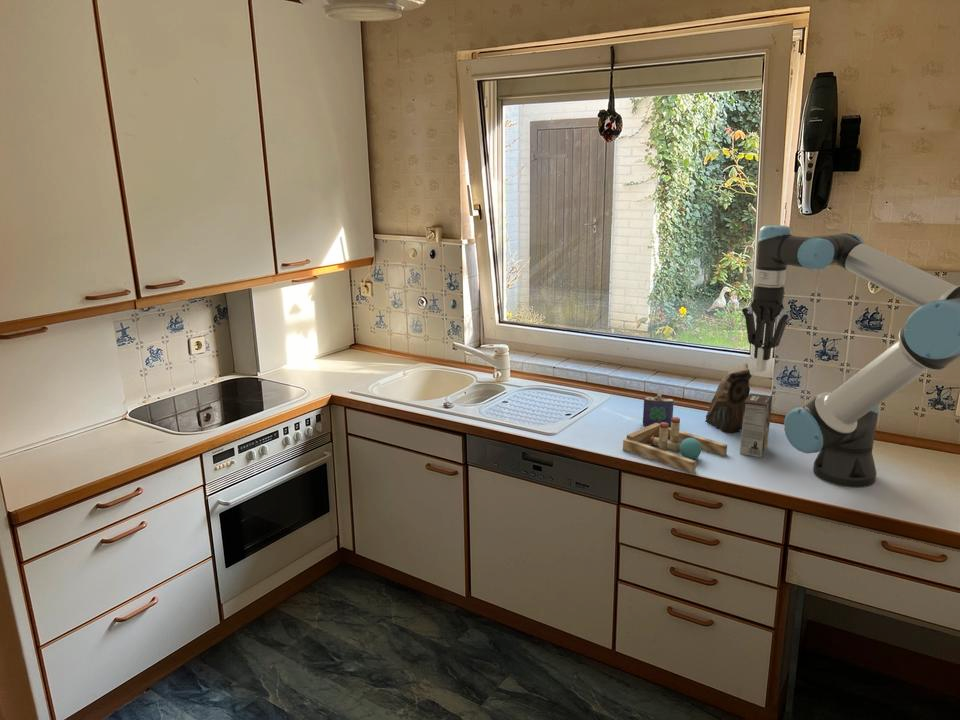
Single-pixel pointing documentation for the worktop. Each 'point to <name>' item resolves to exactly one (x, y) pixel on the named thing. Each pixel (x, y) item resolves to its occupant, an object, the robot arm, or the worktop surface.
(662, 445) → the pin
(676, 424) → the pin
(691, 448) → the ball
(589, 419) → the worktop surface
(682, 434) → the lane
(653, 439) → the pin front
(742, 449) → the coffee box
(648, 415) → the flask
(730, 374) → the carved bird figurine
